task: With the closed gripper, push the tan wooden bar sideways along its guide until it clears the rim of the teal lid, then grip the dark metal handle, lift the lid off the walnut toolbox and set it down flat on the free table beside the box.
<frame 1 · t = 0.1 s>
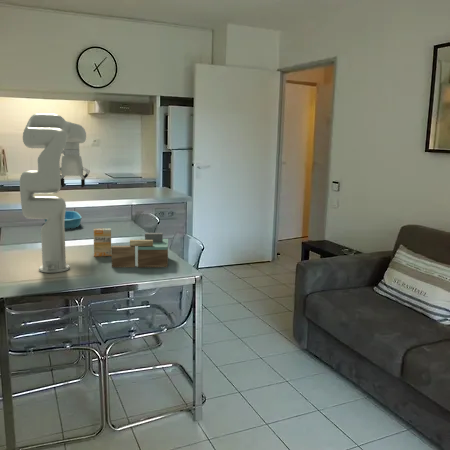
hand: (72, 186, 249), 31 cm above the table, tool pointing down, fingers open, 9 cm apart
casserole dish: (62, 225, 314), on the table
lid: (153, 245, 225), point 8 cm above the table, touching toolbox
tan wooden bar: (141, 242, 217), point 11 cm above the table, slide at 0.0 cm
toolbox: (153, 262, 226), on the table
supplement box: (102, 255, 237), on the table
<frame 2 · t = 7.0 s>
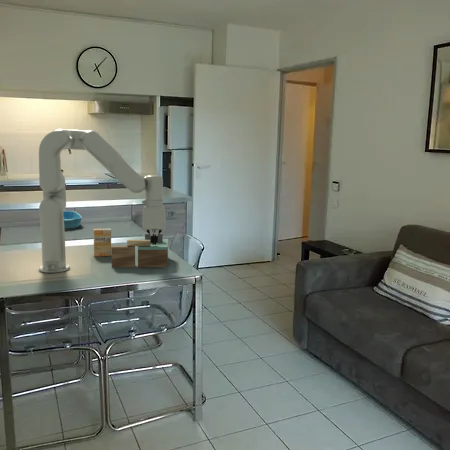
hand: (154, 244, 217), 10 cm above the table, tool pointing down, fingers closed
tan wooden bar: (138, 242, 216), point 11 cm above the table, slide at 1.2 cm, touching gripper
everything else where it was.
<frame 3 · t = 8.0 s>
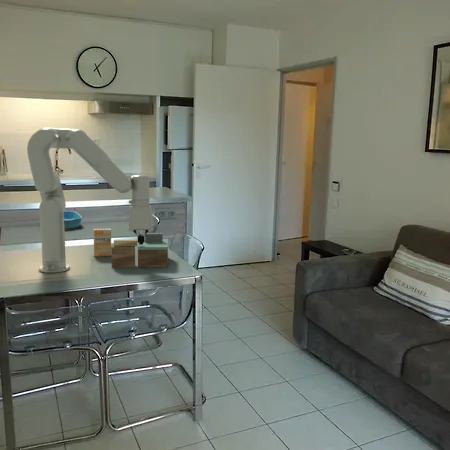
hand: (141, 244, 217), 10 cm above the table, tool pointing down, fingers closed
tan wooden bar: (125, 242, 216), point 11 cm above the table, slide at 7.0 cm, touching gripper
everything else where it was.
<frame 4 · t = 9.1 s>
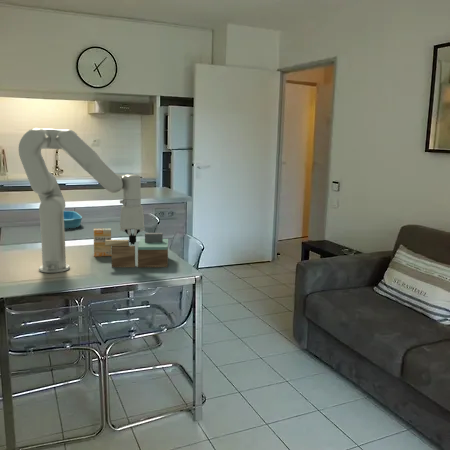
hand: (132, 243, 216), 10 cm above the table, tool pointing down, fingers closed
tan wooden bar: (117, 243, 215), point 11 cm above the table, slide at 10.7 cm, touching gripper
everything else where it was.
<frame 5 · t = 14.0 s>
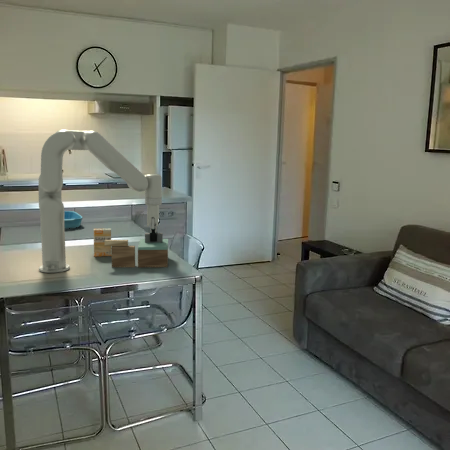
hand: (153, 240, 226), 10 cm above the table, tool pointing down, fingers closed on lid, 3 cm apart
lid: (153, 245, 224), point 8 cm above the table, touching gripper, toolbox
tan wooden bar: (116, 243, 215), point 11 cm above the table, slide at 10.9 cm
everything else where it was.
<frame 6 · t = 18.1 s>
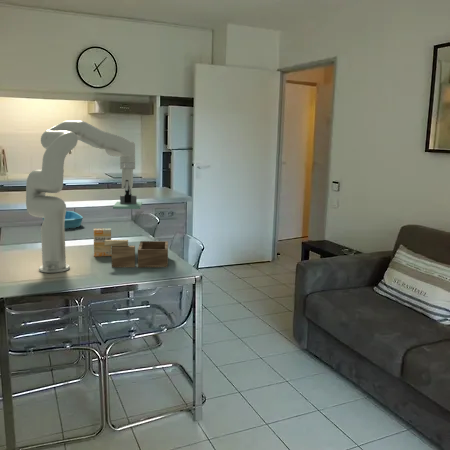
hand: (128, 201, 250), 24 cm above the table, tool pointing down, fingers closed on lid, 3 cm apart
lid: (128, 206, 249), point 22 cm above the table, touching gripper
everything else where it was.
when the fingers open (4 cm above the table, at t = 22.3 s): lid drops 2 cm, on the table.
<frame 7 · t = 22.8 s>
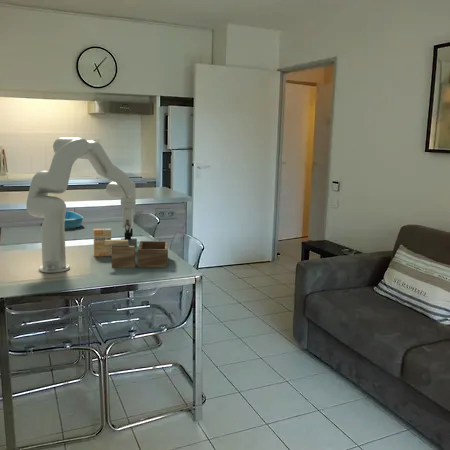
hand: (128, 238, 254), 5 cm above the table, tool pointing down, fingers open, 9 cm apart
lid: (128, 249, 253), on the table
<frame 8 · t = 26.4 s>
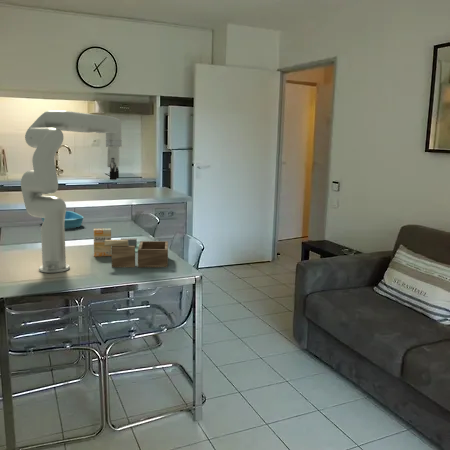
hand: (114, 178, 242), 36 cm above the table, tool pointing down, fingers open, 9 cm apart
at the end: tan wooden bar slide at 10.9 cm; lid inside the target area (0.1 cm from its centre), on the table; lid tilted 0° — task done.
